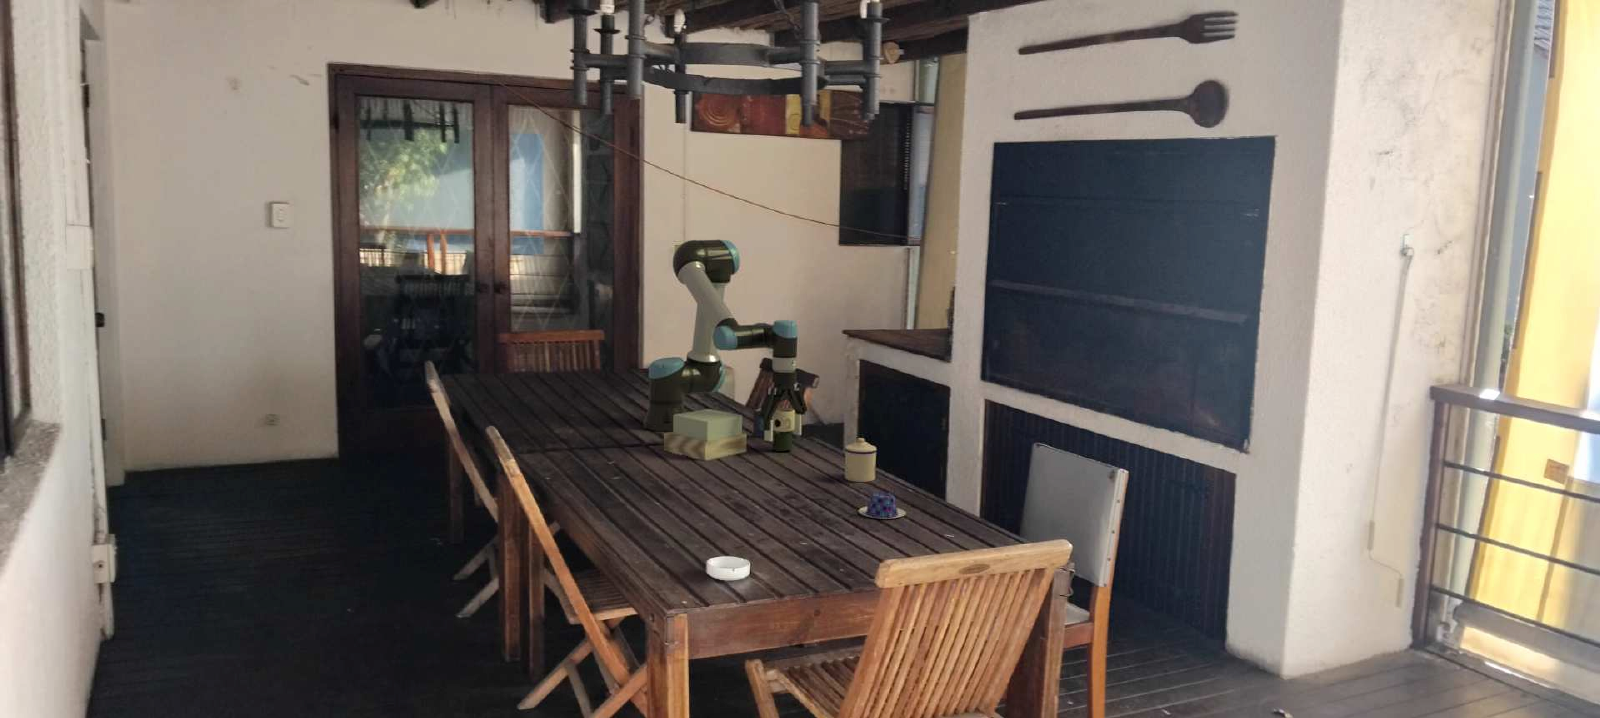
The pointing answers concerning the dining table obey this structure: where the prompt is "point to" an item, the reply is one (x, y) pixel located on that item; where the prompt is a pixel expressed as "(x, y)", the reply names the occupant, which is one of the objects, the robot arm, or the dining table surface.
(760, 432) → the flask
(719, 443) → the tower base
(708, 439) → the tower top
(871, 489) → the dining table surface
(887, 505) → the pudding
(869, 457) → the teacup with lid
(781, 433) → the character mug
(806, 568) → the dining table surface
